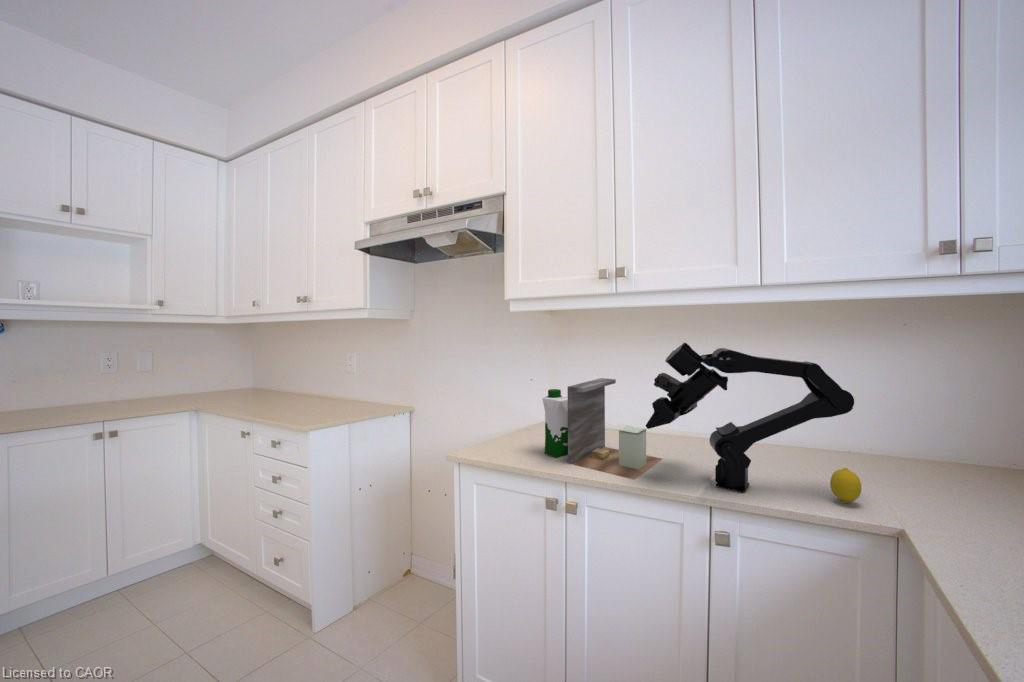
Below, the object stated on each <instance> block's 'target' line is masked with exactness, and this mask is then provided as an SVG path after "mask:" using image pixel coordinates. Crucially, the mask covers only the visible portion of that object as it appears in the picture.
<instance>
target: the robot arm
mask: <svg viewBox="0 0 1024 682" xmlns="http://www.w3.org/2000/svg"><path fill="white" fill-rule="evenodd" d="M664 362H665V363H667V364H668V365H669V366H670V367H671V368H672V369H674V370H675V371H676V372H677V373H678V374H679V375H681V376H682V377H684V376H688V377H689V378H688V379H686V380H684V381H679V379H677V378H676V377H673V376H671V375H670V374H668V373H666V372H660V373H658V374H657V376H656V377H655V378H654V383H653V386H655V387H656V388H659V389H661V390H663V391H665V392H666V396H667V397H664V396H663V397H660V398H657V399H655V400H654V401H653V402H652V403H651V404H652V409H653V413H652V415H651V416H650V418H649V419H648V421H647V422H646V424H645V427H646V430H647V429H648V430H650V429H653V428H657V427H660V426H664V425H669V424H671V423H673V422H675V421H676V420H677V419H678V418H679V417H682V416H685V415H687V414H688V413H691V412H692V411H694V410H695V409H696V408H698V403H699V402H700V401H702V400H704V398H705V397H706V396H707V395H708V394H709V393H710V392H712V391H713V390H714V389H716V388H717V387H718V386H719V388H721V389H722V390H723V391H728V381H729V377H728V376H726V375H725V376H723V375H721V374H720V373H719V372H717V371H716V370H718V371H720V372H721V373H723V374H724V373H725V374H743V373H745V374H746V373H762V374H768V375H778V376H786V377H794V378H801V379H802V380H803V382H804V384H805V385H806V387H807V388H808V389H809V391H810V392H809V393H808V394H807V395H805V396H804V398H803V399H802V400H801V401H799V402H797V403H795V404H793V405H790V406H788V407H786V408H785V407H784V408H783V409H781V410H778V411H776V412H773V413H771V414H768V415H766V416H764V417H761V418H759V419H757V420H754V421H751V422H750V423H747V424H744V425H740V426H737V425H735V424H734V423H733V421H730V422H728V423H726V424H725V425H723V426H720V427H715V431H713V432H711V433H710V436H709V445H710V447H712V449H713V450H714V452H715V453H716V454H717V456H718V457H720V458H719V459H718V460H717V464H716V465H715V468H714V469H715V472H714V473H715V474H714V475H715V478H714V481H715V482H716V483H715V487H717V488H720V489H721V488H722V489H725V490H730V491H733V492H738V493H743V494H744V493H745V492H747V490H748V488H749V487H750V482H749V467H750V465H751V462H752V460H751V459H750V457H749V456H748V455H747V454H746V453H745V452H747V451H748V450H749V449H750V448H751V447H752V446H753V445H754V444H755V443H757V442H759V441H761V440H764V439H766V438H769V437H772V436H774V435H777V434H779V433H781V432H784V431H787V430H789V429H791V428H793V427H796V426H799V425H802V424H804V423H806V422H808V421H811V420H814V419H823V418H832V417H833V418H834V417H836V416H837V417H838V416H842V415H845V414H848V413H850V412H851V411H852V410H853V409H854V405H855V398H854V396H853V394H852V393H851V392H849V391H847V390H845V389H843V388H842V387H841V386H840V385H839V383H837V382H836V381H835V380H834V379H833V378H832V377H830V376H829V375H828V373H826V371H824V370H823V368H822V367H821V366H820V364H818V363H815V362H811V361H807V360H806V361H797V360H790V359H789V360H788V359H780V358H772V357H771V358H770V357H763V356H755V355H752V354H751V355H750V354H747V353H743V352H740V351H736V350H733V349H729V348H727V347H726V348H725V347H719V348H716V349H715V350H713V352H712V353H708V354H702V355H700V354H699V353H697V352H696V351H695V350H694V349H693V348H692V347H691V346H690V345H689V344H688V343H687V342H682V344H681V345H679V346H678V347H677V348H676V349H674V350H673V349H672V351H671V353H670V354H669V355H668V356H667V357H666V358H665V361H664ZM705 365H706V366H705ZM707 366H708V367H709V368H708V367H707ZM710 368H711V369H710ZM713 368H714V369H713ZM715 369H716V370H715ZM668 397H669V398H668Z"/></svg>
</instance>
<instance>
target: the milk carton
mask: <svg viewBox="0 0 1024 682" xmlns="http://www.w3.org/2000/svg"><path fill="white" fill-rule="evenodd" d="M547 394H548V395H547V396H543V397H542V404H543V408H544V409H543V410H544V425H545V426H544V432H545V433H544V434H545V436H544V438H545V439H544V455H547V456H550V457H554V458H557V459H559V458H561V457H564V456H568V395H564V394H562V390H561V389H557V388H553V389H548V390H547Z"/></svg>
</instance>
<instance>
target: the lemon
mask: <svg viewBox="0 0 1024 682" xmlns="http://www.w3.org/2000/svg"><path fill="white" fill-rule="evenodd" d="M829 484H830V487H829V488H830V489H831V492H832V494H833V495H834V496H835V497H836V498H837V499H839V500H840V501H841V502H842V503H844V502H846V503H845V504H847V503H849V502H853V501H856V500H858V498H859V497H860V496H861V493H862V482H861V480H860V477H859V476H858V475H857V474H856V473H855V472H854V471H852V470H850V469H849V468H847V467H843V468H841V469H837V470H835V471H834V472H833V473H832V474H831V477H830V482H829Z"/></svg>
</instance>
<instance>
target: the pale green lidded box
mask: <svg viewBox="0 0 1024 682" xmlns="http://www.w3.org/2000/svg"><path fill="white" fill-rule="evenodd" d="M618 450H619V465H620V466H624V467H629V468H633V469H637V470H638V469H640V468H641V467H642V466H644V465H645V464H646V455H647V428H640V427H634V426H629V425H627V426H625V427H623V428H621V429H619V430H618Z"/></svg>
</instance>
